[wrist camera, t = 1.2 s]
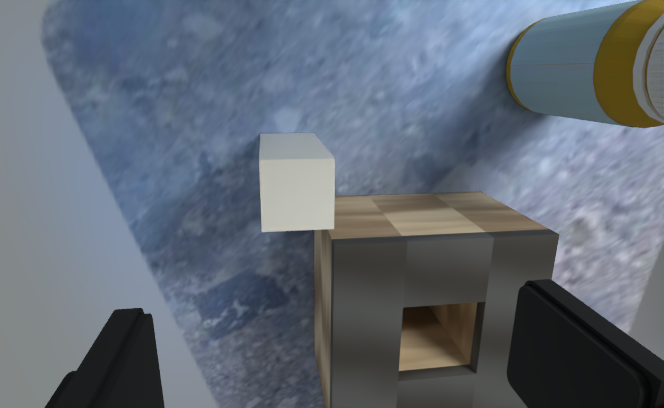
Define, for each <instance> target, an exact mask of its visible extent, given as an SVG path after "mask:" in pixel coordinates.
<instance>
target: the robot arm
mask: <svg viewBox="0 0 664 408" xmlns="http://www.w3.org/2000/svg"><path fill="white" fill-rule="evenodd" d="M507 378H508V382H509V384H510V386H511V387H512V388H513V390H514V391H515V392H516V393H517V395H518V396H519V397H520V399H521V400H522V401H523V402H524V404H525V405H526V406H527V407H528V408H664V361H663V360H662V359H660V358H659V357H658V356H656V355H655V354H653V353H652V352H651V351H649V350H648V349H646V348H645V347H644V346H642V345H641V344H640V343H638V342H637V341H635V340H634V339H633V338H631V337H630V336H629V335H627V334H626V333H624V332H623V331H622V330H620V329H619V328H617V327H616V326H615V325H613V324H612V323H611V322H609V321H608V320H606V319H605V318H604V317H602V316H601V315H599V314H598V313H597V312H595V311H594V310H593V309H591V308H590V307H588V306H587V305H586V304H584V303H583V302H582V301H580V300H579V299H577V298H576V297H575V296H573V295H572V294H570V293H569V292H568V291H566V290H565V289H564V288H562V287H561V286H559V285H558V284H557V283H555V282H554V281H552V280H550V279H542V280H528V281H527V282H525V284H524V286H522V287H520V289H519V292H518V298H517V304H516V311H515V318H514V325H513V331H512V338H511V345H510V352H509V358H508V365H507ZM45 408H164V400H163V393H162V386H161V378H160V370H159V363H158V355H157V348H156V341H155V333H154V325H153V318H152V315H151V314H144V312H143V309H142V308H133V309H118V310H115V311H114V312H113V313H112V315H111V316H110V318H109V319H108V321H107V323H106V324H105V326H104V327H103V329H102V331H101V332H100V334H99V336H98V337H97V339H96V340H95V342H94V343H93V345H92V347H91V348H90V350H89V352H88V353H87V355H86V356H85V358H84V360H83V361H82V363H81V364H80V366H79V368H78V369H77V371H72V372H70V373H68V374H67V375H66V376H65V378H64V379H63V380H62V382H61V384H60V385H59V387H58V388H57V390H56V391H55V393H54V394H53V396H52V397H51V399H50V401H49V402H48V403H47V405H46V407H45Z"/></svg>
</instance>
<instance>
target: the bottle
mask: <svg viewBox="0 0 664 408" xmlns="http://www.w3.org/2000/svg"><path fill="white" fill-rule="evenodd" d="M506 79H507V83H508V87H509V91H510V93H511V95H512V96H513V97H514V99H515V100H516V102H517V103H518V104H519V105H521V106H522V107H524V108H525V109H527V110H529V111H533V112H537V113H541V114H547V115H554V116H561V117H567V118H574V119H581V120H588V121H594V122H601V123H608V124H615V125H621V126H628V127H639V128H648V127H656V126H661V125H664V0H636V1H631V2H626V3H621V4H615V5H610V6H605V7H600V8H595V9H589V10H584V11H579V12H574V13H569V14H563V15H558V16H553V17H549V18H546V19H542V20H540V21H538V22H536V23H534V24H532V25H530V26H529V27H528V28H527V29H526V30H525V31H524V32H522V33H521V34H520V36H519V37H518V38H517V40H516V42H515V43H514V45H513V46H512V48H511V51H510V54H509V57H508V60H507V66H506Z"/></svg>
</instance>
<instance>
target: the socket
mask: <svg viewBox="0 0 664 408" xmlns="http://www.w3.org/2000/svg"><path fill="white" fill-rule="evenodd" d="M558 239H559V234H557V233H555V232H554V231H552V230H550V229H548V228H546V227H544V226H543V225H541V224H539V223H537V222H535V221H534V220H532V219H530V218H528V217H526V216H524V215H523V214H521V213H519V212H517V211H515V210H513V209H512V208H510V207H508V206H506V205H504V204H503V203H501V202H499V201H497V200H495V199H493V198H492V197H490V196H488V195H486V194H484V193H483V192H459V193H428V194H396V195H365V196H335V202H334V229H323V230H314V340H315V355H316V361H317V366H318V371H319V377H320V382H321V387H322V393H323V398H324V404H325V408H528V407H527V406H526V405H525V404H524V402H523V401H522V400H521V399H520V397H519V396H518V395H517V393H516V392H515V391H514V390H513V388H512V387H511V386H510V384H509V382H508V378H507V365H508V358H509V352H510V345H511V338H512V331H513V325H514V318H515V311H516V304H517V298H518V292H519V289H520V287H522V286H524V284H525V282H527V281H528V280H542V279H550V280H551V279H552V273H553V267H554V262H555V256H556V250H557V245H558Z"/></svg>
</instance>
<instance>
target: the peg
mask: <svg viewBox="0 0 664 408" xmlns="http://www.w3.org/2000/svg"><path fill="white" fill-rule="evenodd" d="M259 172H260V198H261V223H262V232H276V231H299V230H323V229H334V202H335V158H334V157H333V155H332V154H331V153H330V152H329V151H328V149H327V148H326V147H325V146H324V144H323V143H322V142H321V141H320V140H319V138H318V137H317V136H316V135H315V133H276V134H260V151H259Z"/></svg>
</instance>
